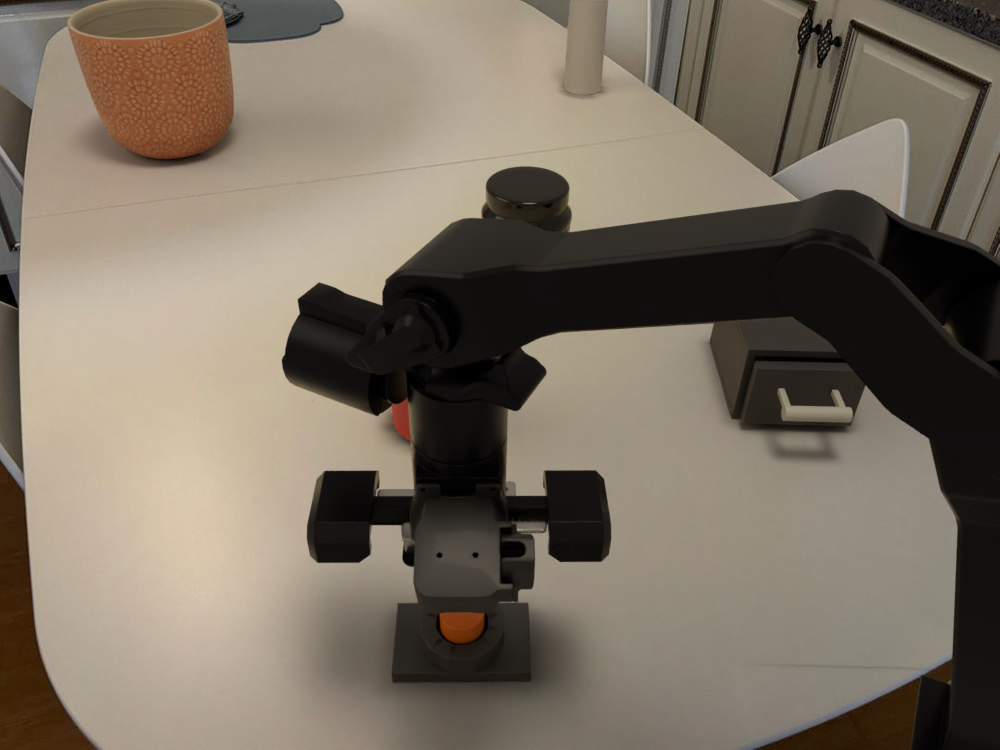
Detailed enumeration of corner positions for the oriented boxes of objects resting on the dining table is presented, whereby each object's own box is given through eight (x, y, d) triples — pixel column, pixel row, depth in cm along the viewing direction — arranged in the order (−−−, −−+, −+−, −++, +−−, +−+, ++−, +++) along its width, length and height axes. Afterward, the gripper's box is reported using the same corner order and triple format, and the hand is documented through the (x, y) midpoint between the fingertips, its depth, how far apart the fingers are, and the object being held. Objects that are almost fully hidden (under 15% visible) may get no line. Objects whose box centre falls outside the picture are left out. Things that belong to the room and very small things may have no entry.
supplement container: (471, 257, 107) (470, 168, 99) (551, 246, 109) (556, 159, 102) (494, 303, 99) (495, 211, 92) (579, 291, 101) (587, 199, 94)
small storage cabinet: (849, 421, 84) (874, 352, 79) (731, 418, 84) (748, 349, 79) (814, 344, 94) (835, 278, 88) (709, 342, 94) (723, 275, 89)
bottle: (605, 84, 154) (621, -89, 136) (595, 97, 149) (610, -81, 131) (570, 79, 156) (581, -93, 138) (559, 91, 151) (569, -85, 133)
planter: (120, 185, 121) (81, 48, 109) (92, 132, 134) (55, 5, 122) (263, 155, 129) (241, 24, 117) (223, 108, 143) (200, -13, 131)
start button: (484, 606, 64) (484, 592, 62) (484, 644, 61) (484, 630, 60) (441, 607, 63) (440, 592, 62) (439, 644, 61) (438, 630, 60)
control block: (527, 611, 66) (529, 587, 64) (531, 682, 62) (532, 658, 60) (398, 611, 66) (396, 587, 64) (392, 683, 61) (389, 659, 59)
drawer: (863, 454, 79) (885, 399, 75) (751, 451, 79) (766, 396, 75) (818, 353, 91) (835, 300, 87) (720, 351, 91) (732, 298, 87)
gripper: (272, 538, 44) (310, 701, 53) (636, 536, 44) (608, 699, 54) (307, 396, 52) (334, 559, 62) (611, 396, 53) (590, 558, 62)
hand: (462, 594), depth 60 cm, fingers closed
